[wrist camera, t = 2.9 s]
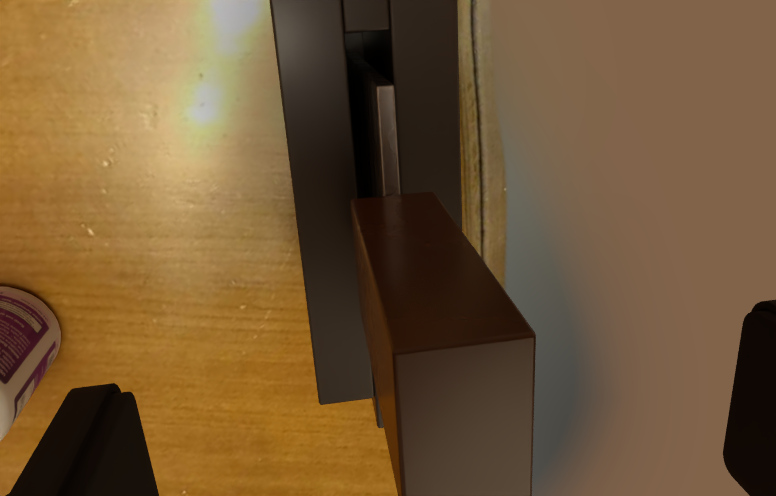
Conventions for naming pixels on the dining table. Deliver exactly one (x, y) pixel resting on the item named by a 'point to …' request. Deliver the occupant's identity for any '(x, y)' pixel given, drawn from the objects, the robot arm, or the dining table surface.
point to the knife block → (336, 150)
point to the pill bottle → (23, 350)
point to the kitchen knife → (435, 326)
